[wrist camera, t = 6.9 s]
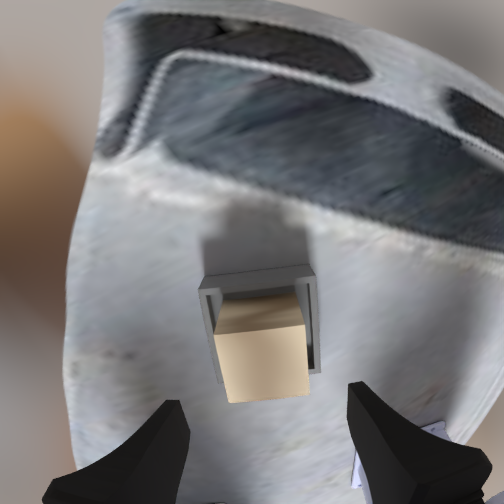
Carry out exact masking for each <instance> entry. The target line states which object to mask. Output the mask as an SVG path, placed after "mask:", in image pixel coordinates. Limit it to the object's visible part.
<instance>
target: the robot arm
mask: <svg viewBox="0 0 504 504" xmlns="http://www.w3.org/2000/svg"><path fill="white" fill-rule="evenodd" d="M347 421H348V425H349V429H350V434H351V437H352V440H353V443H354V445H355V448H356V454H355V462H354V469H353V475H352V482H351V487H352V488H353V489H355V488H360V487H362V489H363V492H364V496H365V499H366V503H367V504H504V491H502V492H500V493H499V494H497V495H495V496H493V497H492V498H490V499H489V500H488V501H486V502H485V503H484V501H483V499H482V497H483V496H484V493H483V491H482V489H481V488H482V486H483V485H484V483H485V482H486V480H487V479H488V477H489V475H490V473H491V471H492V464H491V463H490V461H489V459H488V458H487V456H486V455H485V453H484V452H483V451H482V450H481V449H478V448H474V447H469V446H465V445H461V444H457V443H454V442H452V441H451V439H450V438H449V436H448V434H447V433H446V431H445V430H444V428H445V425H446V424H445V422H444V421H440V422H437V423H434V424H432V425H428V426H425V427H422V428H419V427H418V426H416V425H414V424H413V423H411V422H410V421H408V420H407V419H405V418H404V417H402V416H401V415H400V414H398V413H397V412H396V411H395V410H393V409H392V408H391V407H390V406H389V405H387V404H386V403H385V402H384V401H383V400H382V399H381V398H379V397H378V396H377V395H376V394H375V393H374V392H373V391H372V390H371V389H370V388H369V387H368V386H367V385H366V384H365V383H364V382H363V381H360V382H355V383H349V384H348V402H347ZM189 440H190V429H189V427H188V424H187V421H186V418H185V415H184V412H183V410H182V407H181V404H180V401H179V400H166V401H165V402H164V403H163V404H162V405H161V406H160V407H159V408H158V409H157V410H156V412H155V413H154V414H153V415H152V416H151V417H150V418H149V419H148V420H147V421H146V422H145V423H144V424H143V425H142V426H141V427H140V428H139V429H138V430H137V431H136V432H135V433H134V434H133V435H132V436H131V437H130V438H129V439H128V440H126V441H125V442H124V443H123V444H122V445H120V446H119V447H118V448H116V449H115V450H114V451H112V452H111V453H109V454H108V455H106V456H105V457H103V458H101V459H100V460H98V461H96V462H95V463H93V464H91V465H89V466H87V467H85V468H83V469H80V470H78V471H76V472H73V473H71V474H68V475H65V476H62V477H59V478H56V479H53V480H52V482H51V484H50V485H49V487H48V489H47V491H46V492H45V494H44V496H43V498H42V502H43V504H175V503H176V496H177V491H178V487H179V483H180V480H181V476H182V472H183V469H184V465H185V461H186V457H187V454H188V448H189Z"/></svg>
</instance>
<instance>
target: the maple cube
mask: <svg viewBox="0 0 504 504" xmlns="http://www.w3.org/2000/svg"><path fill="white" fill-rule="evenodd" d="M214 340H215V345H216V349H217V354H218V358H219V363H220V367H221V371H222V376H223V380H224V384H225V389H226V393H227V397H228V401H229V403H236V402H250V401H261V400H271V399H280V398H288V397H296V396H303V395H310V392H309V375H308V359H307V345H306V331H305V323H304V320H303V316H302V313H301V309H300V306H299V303H298V299H297V296H296V292H290V293H282V294H274V295H266V296H258V297H250V298H241V299H232V300H223V302H222V305H221V309H220V313H219V317H218V320H217V324H216V328H215V331H214Z"/></svg>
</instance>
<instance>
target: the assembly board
mask: <svg viewBox="0 0 504 504" xmlns="http://www.w3.org/2000/svg"><path fill="white" fill-rule="evenodd" d="M290 292H296V296H297V299H298V303H299V306H300V309H301V313H302V316H303V320H304V323H305V331H306V345H307V359H308V375H309V374H316V373H321V361H320V337H319V318H318V301H317V286H316V275H315V273H314V272H313V270H312V268H311V266H310V264H306V265H298V266H290V267H282V268H274V269H266V270H258V271H249V272H241V273H232V274H224V275H215V276H206V277H204V279H203V281H202V282H201V284H200V286H199V288H198V293H199V298H200V303H201V308H202V313H203V318H204V322H205V327H206V332H207V337H208V341H209V346H210V350H211V355H212V359H213V363H214V368H215V372H216V376H217V380H218V384H221V383H224V380H223V376H222V371H221V367H220V363H219V358H218V354H217V349H216V345H215V340H214V331H215V328H216V324H217V320H218V317H219V313H220V309H221V305H222V302H223V300H232V299H241V298H250V297H258V296H266V295H274V294H282V293H290Z"/></svg>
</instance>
